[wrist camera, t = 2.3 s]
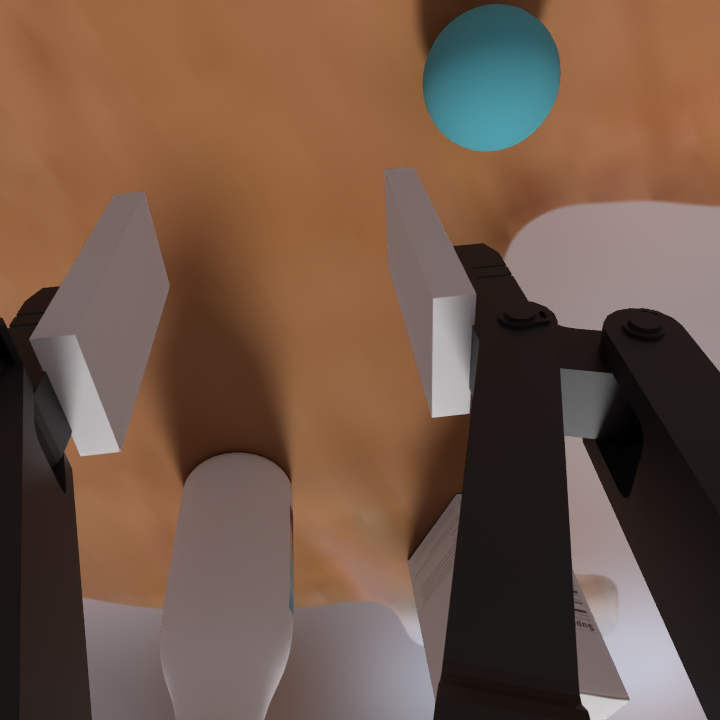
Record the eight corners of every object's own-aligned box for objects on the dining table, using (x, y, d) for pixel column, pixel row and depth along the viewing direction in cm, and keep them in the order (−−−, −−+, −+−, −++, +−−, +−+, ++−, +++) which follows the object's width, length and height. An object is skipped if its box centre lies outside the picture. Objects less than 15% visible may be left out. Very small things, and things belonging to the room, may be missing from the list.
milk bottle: (161, 481, 45) (91, 806, 29) (247, 431, 43) (225, 749, 27) (231, 536, 49) (205, 848, 33) (313, 493, 47) (328, 801, 31)
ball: (412, 1, 29) (437, 20, 24) (541, -10, 29) (592, 8, 24) (413, 135, 32) (436, 176, 28) (528, 124, 33) (571, 163, 28)
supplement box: (495, 580, 56) (553, 768, 44) (404, 561, 53) (440, 756, 41) (553, 513, 51) (636, 702, 39) (457, 489, 48) (515, 685, 36)
